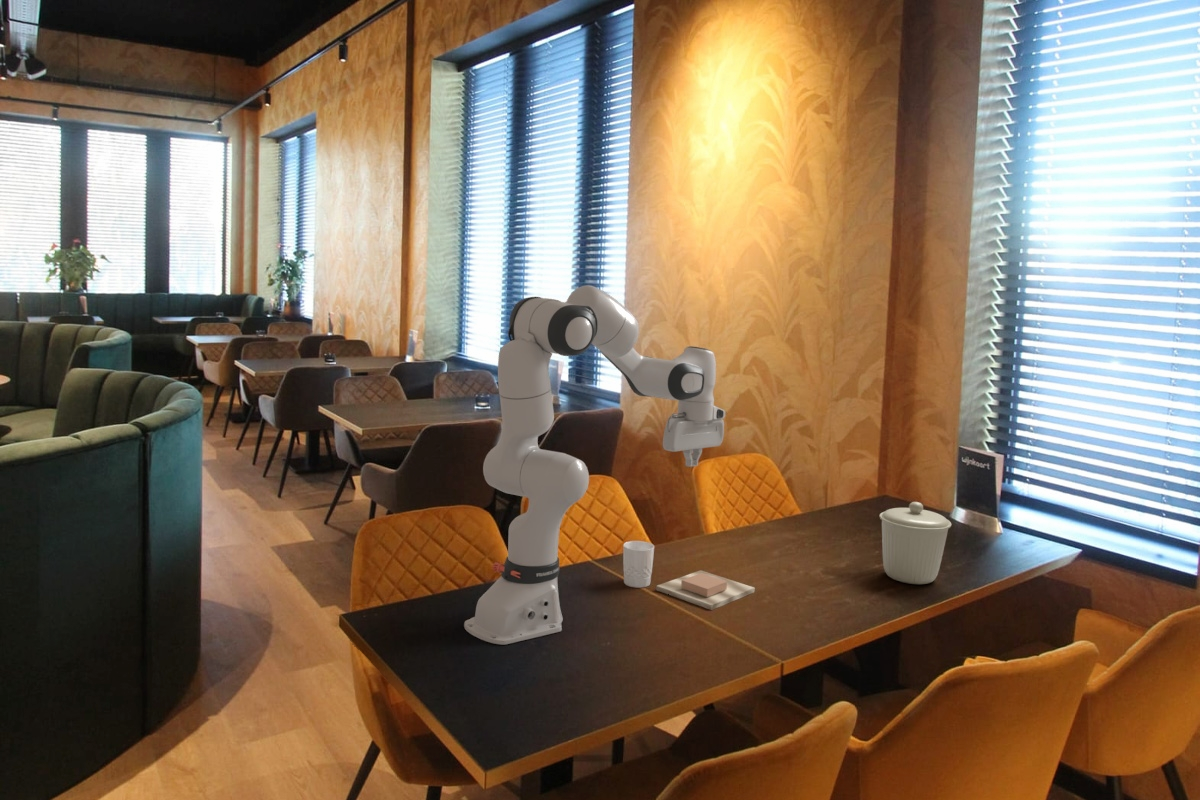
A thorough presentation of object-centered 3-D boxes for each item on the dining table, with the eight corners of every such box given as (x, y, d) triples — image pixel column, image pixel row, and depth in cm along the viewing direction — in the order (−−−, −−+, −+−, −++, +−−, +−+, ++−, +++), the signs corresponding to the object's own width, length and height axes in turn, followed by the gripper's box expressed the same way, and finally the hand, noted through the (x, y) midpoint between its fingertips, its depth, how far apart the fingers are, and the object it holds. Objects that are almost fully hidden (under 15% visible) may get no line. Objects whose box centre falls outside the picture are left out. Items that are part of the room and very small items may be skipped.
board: (711, 610, 201) (711, 605, 201) (656, 590, 213) (656, 585, 213) (754, 592, 214) (754, 587, 214) (700, 574, 226) (700, 570, 225)
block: (726, 590, 211) (707, 598, 205) (700, 581, 217) (681, 589, 211) (727, 581, 211) (707, 589, 205) (701, 573, 216) (681, 580, 210)
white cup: (650, 590, 213) (651, 551, 211) (619, 586, 214) (620, 548, 213) (654, 579, 220) (656, 542, 219) (624, 576, 222) (626, 539, 220)
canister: (956, 580, 229) (964, 503, 226) (927, 595, 217) (935, 515, 214) (893, 562, 242) (899, 490, 239) (862, 576, 229) (868, 500, 226)
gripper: (678, 415, 203) (674, 472, 205) (729, 411, 218) (725, 464, 219) (658, 412, 208) (655, 467, 209) (709, 408, 222) (706, 460, 224)
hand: (691, 466), depth 214 cm, fingers closed
